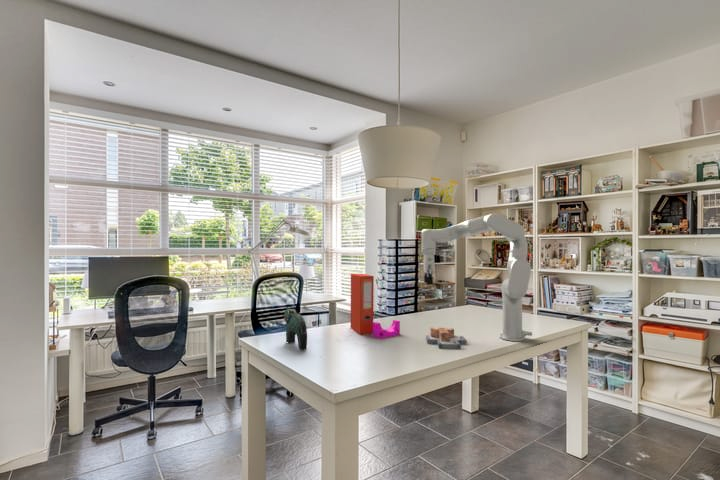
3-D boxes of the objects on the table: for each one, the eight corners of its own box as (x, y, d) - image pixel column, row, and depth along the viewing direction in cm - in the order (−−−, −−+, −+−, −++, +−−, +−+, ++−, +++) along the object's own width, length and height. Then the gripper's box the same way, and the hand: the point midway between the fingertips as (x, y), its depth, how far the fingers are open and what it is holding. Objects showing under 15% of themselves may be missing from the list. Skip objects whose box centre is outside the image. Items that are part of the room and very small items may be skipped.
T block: (452, 335, 202) (452, 327, 202) (456, 341, 190) (456, 333, 190) (430, 334, 203) (430, 327, 203) (433, 340, 191) (433, 332, 191)
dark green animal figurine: (282, 342, 189) (282, 302, 189) (294, 340, 193) (294, 301, 193) (298, 351, 172) (298, 308, 172) (311, 349, 176) (311, 307, 176)
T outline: (462, 339, 192) (462, 335, 192) (470, 348, 175) (470, 344, 176) (425, 339, 193) (425, 335, 193) (429, 348, 177) (429, 344, 177)
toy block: (378, 338, 195) (378, 324, 195) (372, 336, 201) (372, 322, 201) (402, 335, 202) (402, 321, 202) (396, 333, 207) (396, 319, 207)
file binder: (363, 327, 222) (363, 273, 222) (373, 333, 205) (373, 275, 206) (350, 328, 219) (350, 273, 219) (360, 334, 203) (359, 276, 203)
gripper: (438, 252, 193) (437, 285, 192) (433, 251, 210) (433, 281, 210) (423, 252, 193) (423, 285, 193) (419, 251, 210) (419, 281, 210)
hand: (428, 283), depth 201 cm, fingers open, 9 cm apart
